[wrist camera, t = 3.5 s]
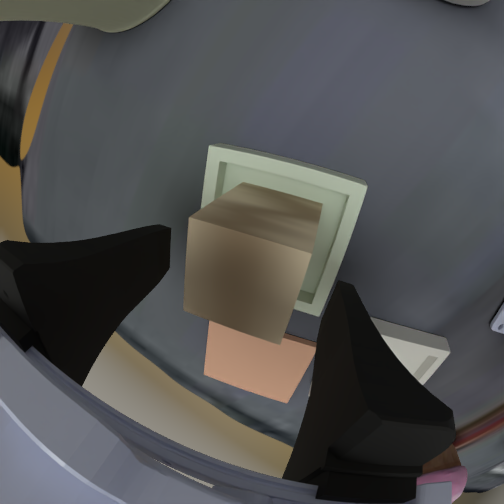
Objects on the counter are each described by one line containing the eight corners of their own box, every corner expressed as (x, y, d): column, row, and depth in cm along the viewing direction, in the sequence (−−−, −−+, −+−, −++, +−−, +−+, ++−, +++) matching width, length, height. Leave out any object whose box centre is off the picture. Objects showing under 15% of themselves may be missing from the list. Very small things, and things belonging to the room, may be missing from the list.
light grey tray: (446, 337, 15) (450, 352, 14) (393, 400, 19) (394, 413, 18) (350, 310, 17) (350, 325, 15) (311, 381, 21) (308, 395, 19)
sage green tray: (364, 180, 13) (367, 186, 12) (321, 302, 17) (319, 316, 16) (220, 143, 14) (209, 145, 13) (204, 264, 18) (194, 275, 17)
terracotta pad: (318, 343, 19) (317, 348, 18) (288, 398, 22) (287, 403, 22) (213, 308, 20) (210, 312, 19) (206, 370, 24) (203, 374, 23)
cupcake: (387, 459, 24) (380, 524, 16) (410, 430, 21) (408, 512, 12) (444, 454, 22) (444, 515, 13) (475, 423, 18) (482, 495, 9)
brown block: (322, 203, 14) (312, 254, 9) (301, 275, 16) (279, 346, 11) (243, 181, 15) (189, 216, 10) (231, 253, 17) (183, 311, 12)
